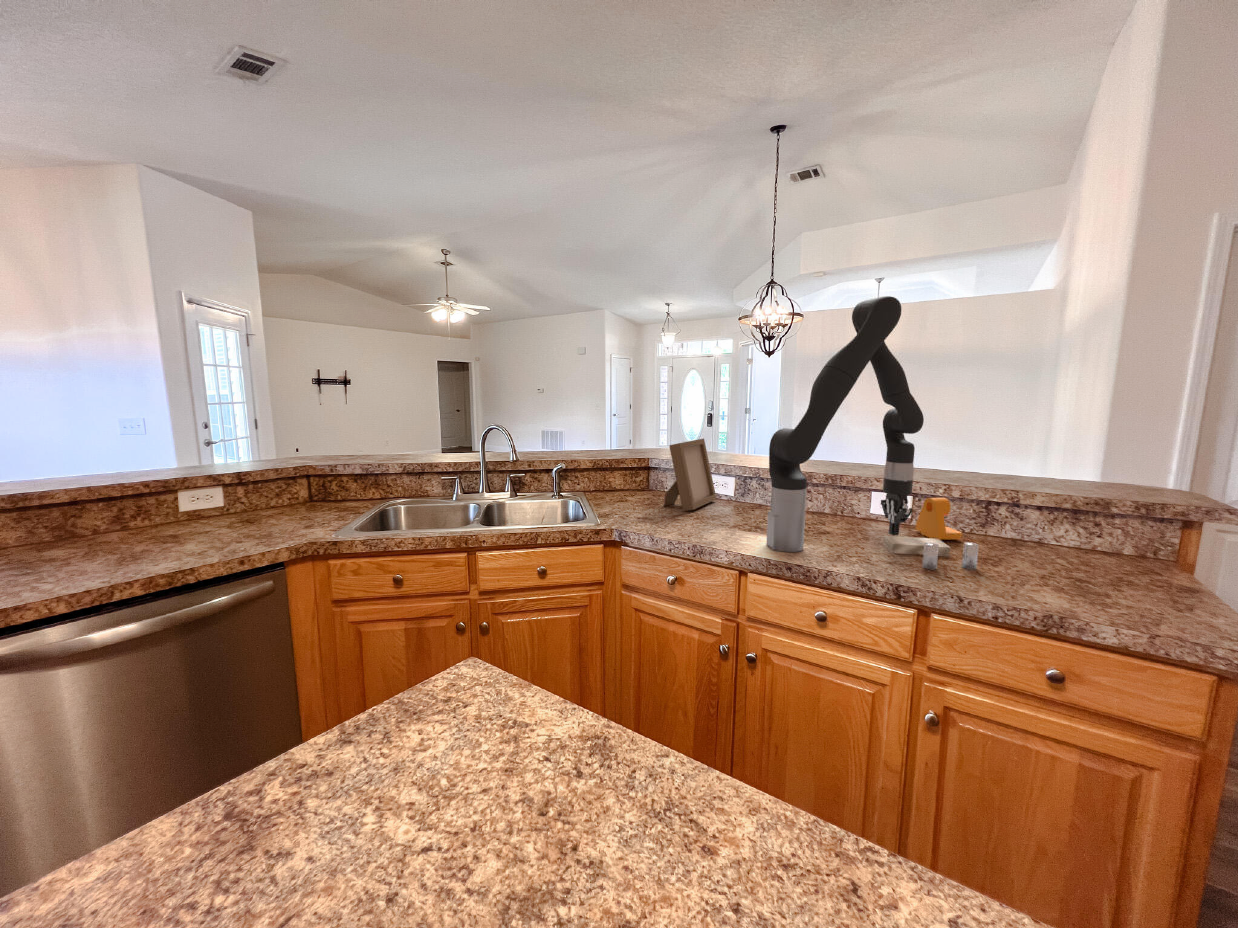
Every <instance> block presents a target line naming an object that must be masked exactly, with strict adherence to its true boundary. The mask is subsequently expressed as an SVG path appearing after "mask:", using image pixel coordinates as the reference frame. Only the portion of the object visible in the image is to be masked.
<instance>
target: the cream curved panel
mask: <svg viewBox="0 0 1238 928" xmlns="http://www.w3.org/2000/svg"><path fill="white" fill-rule="evenodd" d="M925 543H935V544H938V545H939V548H938V557H951V546H950V545H948V544H946V543H945V542H944V541H942V539H932V538H928V537H915V536H914V537H911V536H899V535H883V546H884V547H886V549H887V550H888V551H889V552H891V554H903V555H916V554H919V555H920V556H923V555H924V544H925ZM919 555H918V556H919Z"/></svg>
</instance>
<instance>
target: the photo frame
mask: <svg viewBox="0 0 1238 928" xmlns="http://www.w3.org/2000/svg"><path fill="white" fill-rule="evenodd" d="M668 446H669V451H670V455H671V457H670V458H671V461H672V465H673V470H674V475H675V479H676V480H675V481H674V482H673V483H672V485H670V487H669V488H668V490H667V491H666V492H665V494H664V501H663V504H664V505H663V506H668V505H669V506H670V505H675V503H676V501H677V499H678V498H679V499H680V504H681V509H682V511H683V512H685V511H693V510H696V509H698V508H701V507H703V506H704V505H706V504H709V503H711V502H713V501H715V500H717V494H716V490H715V484H714V481H713V475H712V471H711V465H710V462H709V456H708V450H707V445H706V441H705V438H699V439H694V440H688V441H682V442H679V443H674V444H669V445H668Z"/></svg>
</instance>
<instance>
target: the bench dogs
mask: <svg viewBox="0 0 1238 928" xmlns="http://www.w3.org/2000/svg"><path fill="white" fill-rule="evenodd" d="M979 545H980V544H978V543H974V542H968V541H967V542H964V543H963V551H962V562H961V568H964V569H966V570H972V571H974V570H977V567H978V566H977V565H978V556H979V549H980V547H979ZM938 548H939V545H938V544H935V543H925V544H924V555H922V557H923V558H922V566H921V567H922V568H924V569H925V568H926V570H932V571H934V570H935V569H936V570H937V569H938V560H939V559H938V558H939V556H938Z"/></svg>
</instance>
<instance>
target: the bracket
mask: <svg viewBox="0 0 1238 928" xmlns="http://www.w3.org/2000/svg"><path fill="white" fill-rule="evenodd" d="M951 507H952V506H951V503H950V501H949V499H948V498H945V497H927V498H925V499H924V501H923V504H922V506H921V510H920V512H919V515H918V518H917V521H916V524H915V530H916V531H918V532H920V535H921V534H922V535H921V536H924V535H925V536H924V537H926V536H927V537H926V538H928V537H929V538H932V539H939V540H961V539H962V532H961V531H959V530H956V529H954V528H951V527H948V526H946V524H945V516H949V514H950V512H951V509H952V508H951Z"/></svg>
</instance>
